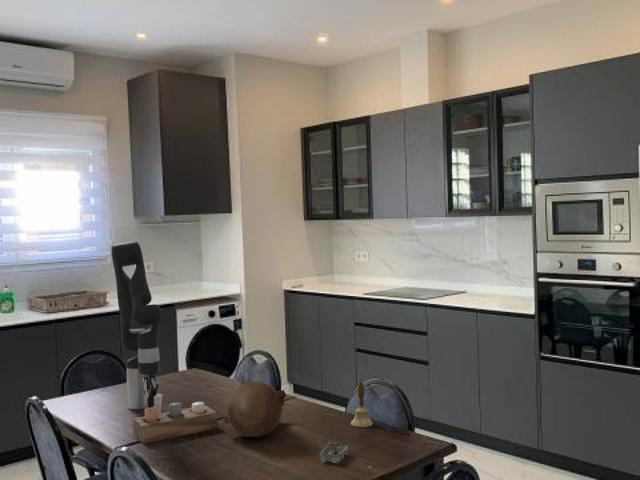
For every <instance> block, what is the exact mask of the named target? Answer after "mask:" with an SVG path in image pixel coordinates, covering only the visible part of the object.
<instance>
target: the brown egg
mask: <svg viewBox="0 0 640 480" xmlns="http://www.w3.org/2000/svg"><path fill="white" fill-rule="evenodd" d="M144 416H145V423H151V422H156V421H158V408H157V407H151V408H149V407H147V408H144Z"/></svg>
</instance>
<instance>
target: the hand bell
mask: <svg viewBox="0 0 640 480" xmlns="http://www.w3.org/2000/svg"><path fill="white" fill-rule="evenodd" d="M365 392H366V391H365V384H364V382H363V381H359V382H358V386H357V394H358V395H357V396H358V399H359V402H358V405H359V406H358V407H357V408H356V409H355V413H354V418H353V420H351V421H350V425H351V426H353V427H355V428H369V427H371V426H373V421H372V420H371V419H370V417H369V416H370V415H369V413H368V409H367V408H365V405H364V403H365V402H364V396H365V394H366V393H365Z"/></svg>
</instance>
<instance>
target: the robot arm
mask: <svg viewBox="0 0 640 480" xmlns="http://www.w3.org/2000/svg"><path fill="white" fill-rule="evenodd" d="M111 258H112V265H113V270H114V275H115V280H116V281H115V282H116V284H115V285H116V296H117V304H118V311H119V317H120V318H119V319H120V336H121V346H122V350H124V351H125V352H136V351H137V355H135V356H133V357H131V358H129V359H127V361H126V363H125V364H126V380H127V381H126V386H127V406H128V409H130V410H145V408H148V407H149V408H151V407H154V397H155V396H156V394H157V393H158V389H159V383H157V377H156V374H158V373H160V372H161V366H160V361H161V360H160V349H159V329H160V325H161V321H162V317H163V311H162V308H161V306H159V304H157V303H156V304H155V303H154V304H150V303H151V302H152V299H153V298H152V294H151V290H150V288H149V284H148V280H147V274H146V268H145V263H144V262H145V261H144V257H143V252H142V249H141V246H140V244H139V242H137V241H136V240H135V241H125V242H121V243H115V244H113V245H112V246H111ZM129 266H135V269H134V272H133V274H132V276H131V278H130V277H129V276H128V274H127V273H126V272H125V270H124V267H129ZM132 323H134V324H135V325H137V326H145V325H150V326H149V328H147V329H146V328H130V326H131V325H132ZM146 397H147V399H146Z"/></svg>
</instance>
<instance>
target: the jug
mask: <svg viewBox="0 0 640 480" xmlns="http://www.w3.org/2000/svg"><path fill="white" fill-rule="evenodd" d="M286 396H287V394H286V391H285V390H284V389H280V390H276V389H275V387H273V386H272V385H270V384H268V383H265V382H262V381H249V382H246V383H243V384H242V385H240V386H239V387H237V388H236V390H235V391H234V392H233V393H232V394H231V396H230V399H229V400H228V401H229V402H228V405H227V414H226V416H224V417H223V421H224V424H230V425H231V426H232V428H233V429H234V430H235V431H236V432H237V433H239V435H242V436H243V437H246V438H260V437H265V436H267V435H269V434H270V433H272V431H273V430H274V429H275V428H276V427H277V425H278V424H279V422H280V420H281V417H282V413H283V407H284V406H285V403H286V402H285V398H286Z"/></svg>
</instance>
